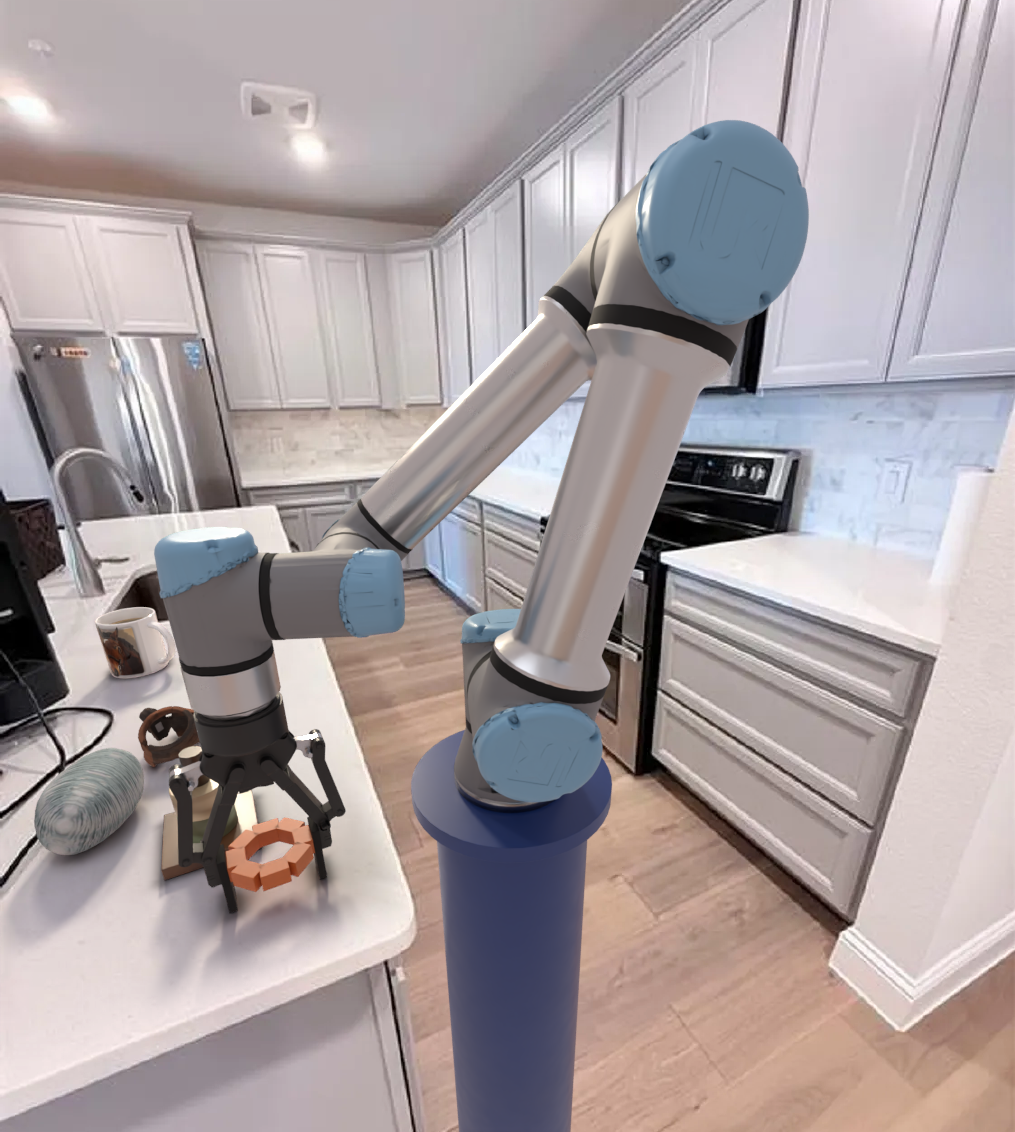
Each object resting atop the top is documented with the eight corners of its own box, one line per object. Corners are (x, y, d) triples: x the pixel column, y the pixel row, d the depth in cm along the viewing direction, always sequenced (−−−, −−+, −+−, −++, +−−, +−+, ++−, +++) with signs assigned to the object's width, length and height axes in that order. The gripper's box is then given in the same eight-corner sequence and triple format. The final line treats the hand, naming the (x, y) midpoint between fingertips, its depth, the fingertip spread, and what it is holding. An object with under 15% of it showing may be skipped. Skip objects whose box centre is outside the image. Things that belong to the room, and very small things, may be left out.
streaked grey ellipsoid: (79, 767, 74) (84, 719, 69) (156, 787, 77) (166, 742, 72) (8, 862, 63) (7, 814, 58) (100, 881, 66) (108, 836, 61)
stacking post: (253, 798, 73) (235, 719, 68) (262, 847, 65) (242, 762, 60) (166, 824, 69) (141, 742, 64) (164, 880, 60) (134, 791, 56)
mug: (164, 652, 117) (151, 602, 113) (182, 669, 109) (169, 617, 105) (105, 667, 110) (89, 615, 106) (120, 687, 102) (103, 632, 98)
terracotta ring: (306, 821, 63) (303, 809, 62) (320, 870, 57) (318, 857, 56) (226, 847, 60) (223, 834, 59) (232, 903, 53) (228, 888, 52)
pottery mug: (233, 738, 87) (213, 712, 80) (189, 790, 82) (164, 768, 75) (173, 708, 90) (149, 681, 83) (127, 757, 84) (97, 733, 78)
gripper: (344, 660, 58) (366, 830, 67) (104, 710, 49) (166, 899, 58) (363, 690, 52) (384, 872, 61) (93, 753, 43) (164, 957, 52)
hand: (278, 885), depth 59 cm, fingers closed on terracotta ring, 8 cm apart
